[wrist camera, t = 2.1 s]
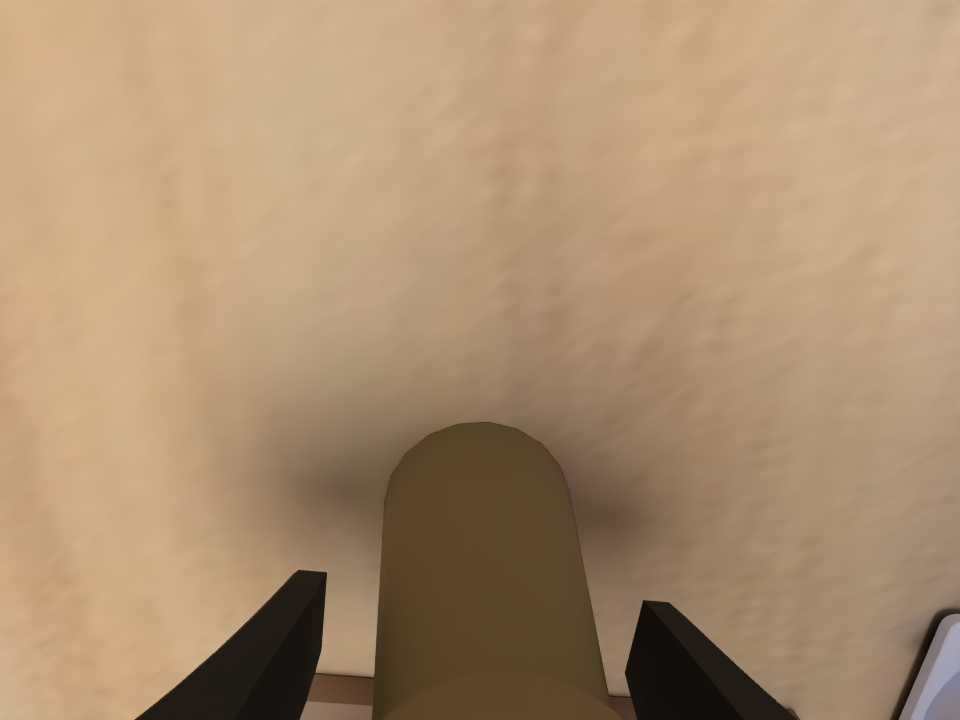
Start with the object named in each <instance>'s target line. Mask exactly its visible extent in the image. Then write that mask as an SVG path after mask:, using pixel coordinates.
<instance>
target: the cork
mask: <svg viewBox="0 0 960 720" xmlns="http://www.w3.org/2000/svg"><path fill="white" fill-rule="evenodd" d="M372 720H623V719H622V718H621V717H620V716H619V715H618V714H617V713H616V712H615V711H614V710H612V709H611V704H610V699H609V694H608V689H607V684H606V679H605V673H604V668H603V663H602V658H601V653H600V647H599V642H598V637H597V632H596V627H595V622H594V616H593V611H592V606H591V601H590V596H589V590H588V585H587V580H586V575H585V570H584V565H583V559H582V554H581V549H580V544H579V539H578V533H577V528H576V523H575V518H574V513H573V508H572V502H571V497H570V492H569V488H568V486H567V483H566V480H565V478H564V475H563V472H562V470H561V467H560V465H559V463H558V462H557V461H556V460H555V459H554V458H553V456H552V455H551V454H550V453H549V452H548V450H547V449H546V448H545V447H544V446H543V445H542V444H541V443H540V442H538V441H536V440H535V439H533V438H531V437H530V436H528V435H526V434H525V433H523V432H521V431H520V430H518V429H515V428H511V427H507V426H503V425H498V424H494V423H490V422H481V423H465V424H456V425H454V426H451V427H448V428H446V429H443V430H440V431H438V432H435V433H432V434H430V435H428V436H427V437H426V438H424V439H423V440H422V441H421V442H419V443H418V444H417V445H416V446H414V447H413V448H412V449H410V450H409V451H408V452H407V453H406V454H405V455H404V457H403V459H402V460H401V462H400V463H399V465H398V466H397V468H396V469H395V471H394V472H393V474H392V475H391V478H390V482H389V486H388V490H387V494H386V498H385V502H384V518H383V535H382V552H381V570H380V587H379V604H378V622H377V639H376V656H375V673H374V691H373V708H372Z"/></svg>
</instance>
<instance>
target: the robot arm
mask: <svg viewBox="0 0 960 720" xmlns="http://www.w3.org/2000/svg"><path fill="white" fill-rule="evenodd" d="M326 580H327V572H316V571H305V570H298V571H297V572H295V573H294V574H293V575H292V576H291V577H290V578H289V579H288V580H287V581H286V582H285V584H284V585H283V586H282V587H281V588H280V589H279V590H278V591H277V592H276V593H275V594H274V595H273V596H272V597H271V598H270V599H269V600H268V601H267V602H266V603H265V604H264V605H263V606H262V607H261V608H260V609H259V610H258V611H257V612H256V613H255V614H254V615H253V616H252V617H251V618H250V619H249V620H248V621H247V622H246V623H245V624H244V625H243V626H242V627H241V628H240V629H239V630H238V631H237V632H236V633H235V634H234V635H233V636H232V637H231V638H230V639H229V640H228V641H226V642H225V643H224V644H223V645H222V646H221V647H220V648H219V649H218V650H217V651H216V652H215V653H213V654H212V655H211V656H210V657H209V658H208V659H207V660H206V661H204V662H203V663H202V664H201V665H200V666H199V667H198V668H196V669H195V670H194V671H193V672H192V673H191V674H190V675H188V676H187V677H186V678H185V679H184V680H183V681H182V682H180V683H179V684H178V685H177V686H176V687H175V688H173V689H172V690H171V691H170V692H169V693H167V694H166V695H165V696H164V697H162V698H161V699H160V700H159V701H158V702H156V703H155V704H154V705H153V706H151V707H150V708H149V709H148V710H146V711H145V712H144V713H142V714H141V715H140V716H139V717H137V718H136V719H135V720H300V717H301V715H302V712H303V710H304V707H305V704H306V702H307V698H308V695H309V691H310V688H311V685H312V681H313V678H314V674H315V671H316V667H317V664H318V660H319V656H320V653H321V648H322V634H323V620H324V607H325V593H326ZM625 675H626V679H627V683H628V687H629V691H630V695H631V699H632V703H633V706H634V710H635V714H636V717H637V720H798V719H797V718H796V717H794V716H793V715H792V714H791V713H790V712H789V711H787V710H786V709H785V708H784V707H783V706H781V705H780V704H779V703H778V702H777V701H776V700H775V699H774V698H772V697H771V696H770V695H769V694H768V693H767V692H766V691H764V690H763V689H762V688H761V687H760V686H759V685H758V684H757V683H756V682H755V681H753V680H752V679H751V678H750V677H749V676H748V675H747V674H746V673H745V672H744V671H742V670H741V669H740V668H739V667H738V666H737V665H736V664H735V663H734V662H733V661H732V660H731V659H730V658H728V657H727V656H726V655H725V654H724V653H723V652H722V651H721V650H720V649H719V648H718V647H717V646H716V645H715V644H714V643H713V642H711V641H710V640H709V639H708V638H707V637H706V636H705V635H704V634H703V633H702V632H701V631H700V630H699V629H698V628H697V627H696V626H694V625H693V624H692V623H691V622H690V621H689V620H688V619H687V618H686V617H685V616H684V615H683V614H681V613H680V612H679V611H678V610H677V609H676V608H675V607H674V606H672V605H671V604H670V603H669V602H658V601H647V600H643V604H642V607H641V611H640V615H639V619H638V623H637V627H636V631H635V635H634V639H633V643H632V647H631V651H630V655H629V658H628V662H627V666H626V670H625ZM899 720H960V614H951V615H949V616H946V617H945V618H944V619H943V620H942V621H941V623H940V624H939V627H938V629H937V631H936V634H935V636H934V638H933V641H932V643H931V645H930V648H929V650H928V652H927V655H926V657H925V659H924V662H923V664H922V666H921V669H920V671H919V673H918V676H917V678H916V681H915V683H914V685H913V688H912V690H911V692H910V695H909V697H908V699H907V702H906V704H905V706H904V709H903V711H902V713H901V716H900V718H899Z"/></svg>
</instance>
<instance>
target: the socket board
mask: <svg viewBox="0 0 960 720" xmlns="http://www.w3.org/2000/svg"><path fill="white" fill-rule="evenodd" d="M373 691H374V679H373V678H360V677H347V676H333V675H320V674H314V678H313V681H312V685H311V688H310V691H309V695H308V698H307V702H306V704H305V707H304V710H303V712H302V715H301V717H300V720H372V708H373ZM609 699H610V704H611V709H612V710H614V711H615V712H616V713H617V714H618V715H619V716H620V717H621V718H622V719H623V720H637V717H636V714H635V710H634V706H633V703H632V699H631V698H625V697H612V696H609ZM787 711H789V712H790V713H791V714H792V715H793V716H794V717H796V718H797V719H798V720H800V719H799V717H798V716H797V715H796V713H795V712H794V710H787Z"/></svg>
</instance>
